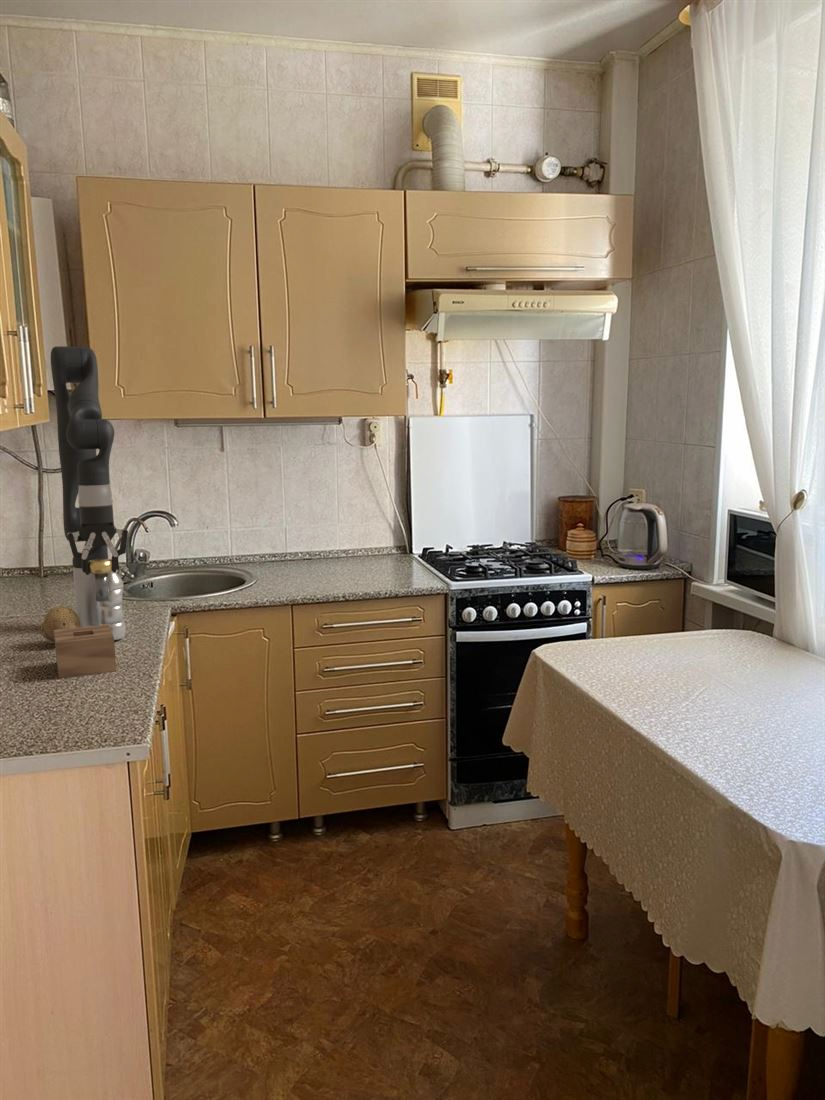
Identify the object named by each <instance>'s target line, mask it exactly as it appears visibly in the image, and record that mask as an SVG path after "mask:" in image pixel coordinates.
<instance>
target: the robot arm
mask: <svg viewBox="0 0 825 1100" xmlns="http://www.w3.org/2000/svg"><path fill="white" fill-rule="evenodd" d="M50 369H51V374H52V375H51V377H52V381H53V384H52V386H53V391H54V398H55V400H54V401H55V405H56V420H57V421H56V422H57V423H56V424H57V441H58V454H59V463H60V471H61V472H60V473H61V482H62V511H63V512H62V514H63V515H62V516H63V517H62V519H63V521H62V522H63V531H64V532H63V533H64V536H65V539H66V540H67V541H68V542H69V548H70V550H71V553H72V554H71V555H72V559H71V560H72V561H71V563H72V574H73V584H74V585H73V586H74V597H75V598H74V599H75V613H76V614H77V616H78V618H79V622H80V627H89V626H98V625H100V614H101V608H100V606H101V605H100V602H99V601H96V590H95V575H94V574H90V573H89V566H88V561H89V560H94V559H109V552H108V550H109V551H110V553H111V555H112V556H111V558H110V559H112V563H113V573H115V572H116V573H117V571H119V569H120V563H119V556H121V555H125V554H126V552H127V543H128V535H129V531H128V529H126V528H116V526H115V521H114V510H113V509H114V507H113V495H112V488H111V484H110V483H111V481H110V457H111V452H112V448H113V442H114V438H115V429H114V426H113V424H112V422H110V420H108V419H104V418H103V413H102V408H101V404H100V400H99V398H100V397H99V370H98V361H97V356H96V353H95V351H94V350H93V349H92V348H90V347H88V346H87V347H86V346H66V345H65V346H61V345H60V346H54V347H52V348H51V350H50ZM67 384H78V385H77V386H76V387H75V388H74V389H73V390H72V392H71V393H70V392H69V390H68V388H67ZM97 450H98V453H97ZM77 498H78V507H76V503H77ZM116 534H117V536H118V537H119V539H120V541H119V542H120V544H119V549H117V548H115V546H114V544H113V542H112V540H113V538H114V537H115V535H116ZM76 542H77V543H78V542H79V543H81V542H84V546H83V549H82V552H79V551H78V547H77V544H76ZM116 570H117V571H116Z"/></svg>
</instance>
